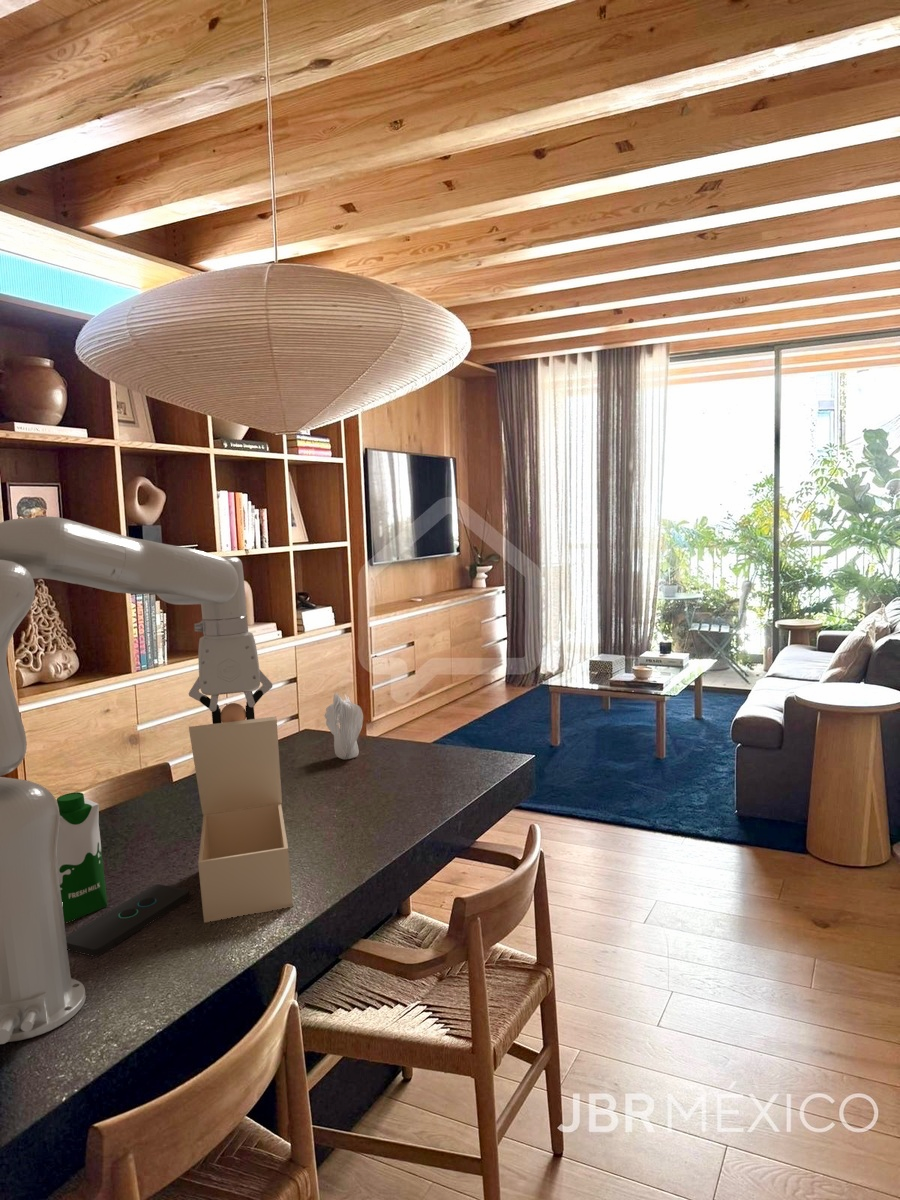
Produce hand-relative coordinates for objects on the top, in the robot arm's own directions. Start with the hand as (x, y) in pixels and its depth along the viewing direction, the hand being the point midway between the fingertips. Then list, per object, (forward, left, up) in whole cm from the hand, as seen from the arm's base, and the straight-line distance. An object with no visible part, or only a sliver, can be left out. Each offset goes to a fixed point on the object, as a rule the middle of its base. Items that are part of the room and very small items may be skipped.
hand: (234, 728), depth 143 cm
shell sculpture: (+63, -26, -27) cm, 73 cm away
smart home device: (-11, +19, -28) cm, 35 cm away
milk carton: (-3, +28, -27) cm, 39 cm away
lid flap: (0, 0, -7) cm, 7 cm away
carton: (-5, 0, -27) cm, 27 cm away
